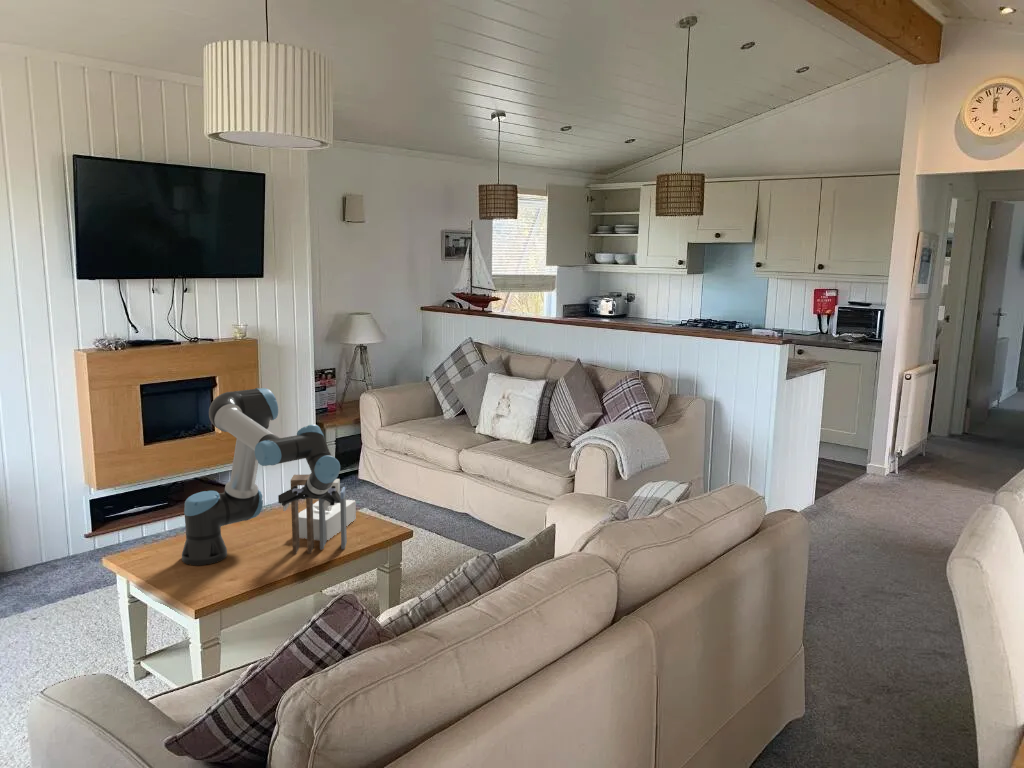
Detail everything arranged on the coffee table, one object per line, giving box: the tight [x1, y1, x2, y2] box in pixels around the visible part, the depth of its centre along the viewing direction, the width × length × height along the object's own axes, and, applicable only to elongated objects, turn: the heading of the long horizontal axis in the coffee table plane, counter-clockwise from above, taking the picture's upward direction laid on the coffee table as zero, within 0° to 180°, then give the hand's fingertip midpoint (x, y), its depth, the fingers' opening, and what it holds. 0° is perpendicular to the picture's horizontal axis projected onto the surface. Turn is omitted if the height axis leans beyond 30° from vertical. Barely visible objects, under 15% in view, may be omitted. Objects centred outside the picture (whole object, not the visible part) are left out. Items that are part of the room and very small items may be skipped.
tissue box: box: [298, 499, 357, 542], centre depth 308 cm, size 14×25×11 cm, turn 166°
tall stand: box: [290, 474, 315, 555], centre depth 283 cm, size 6×7×28 cm
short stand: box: [318, 486, 348, 551], centre depth 288 cm, size 9×7×22 cm
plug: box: [328, 478, 341, 506], centre depth 282 cm, size 5×14×6 cm, turn 6°
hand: (304, 506), depth 263 cm, fingers open, 13 cm apart
